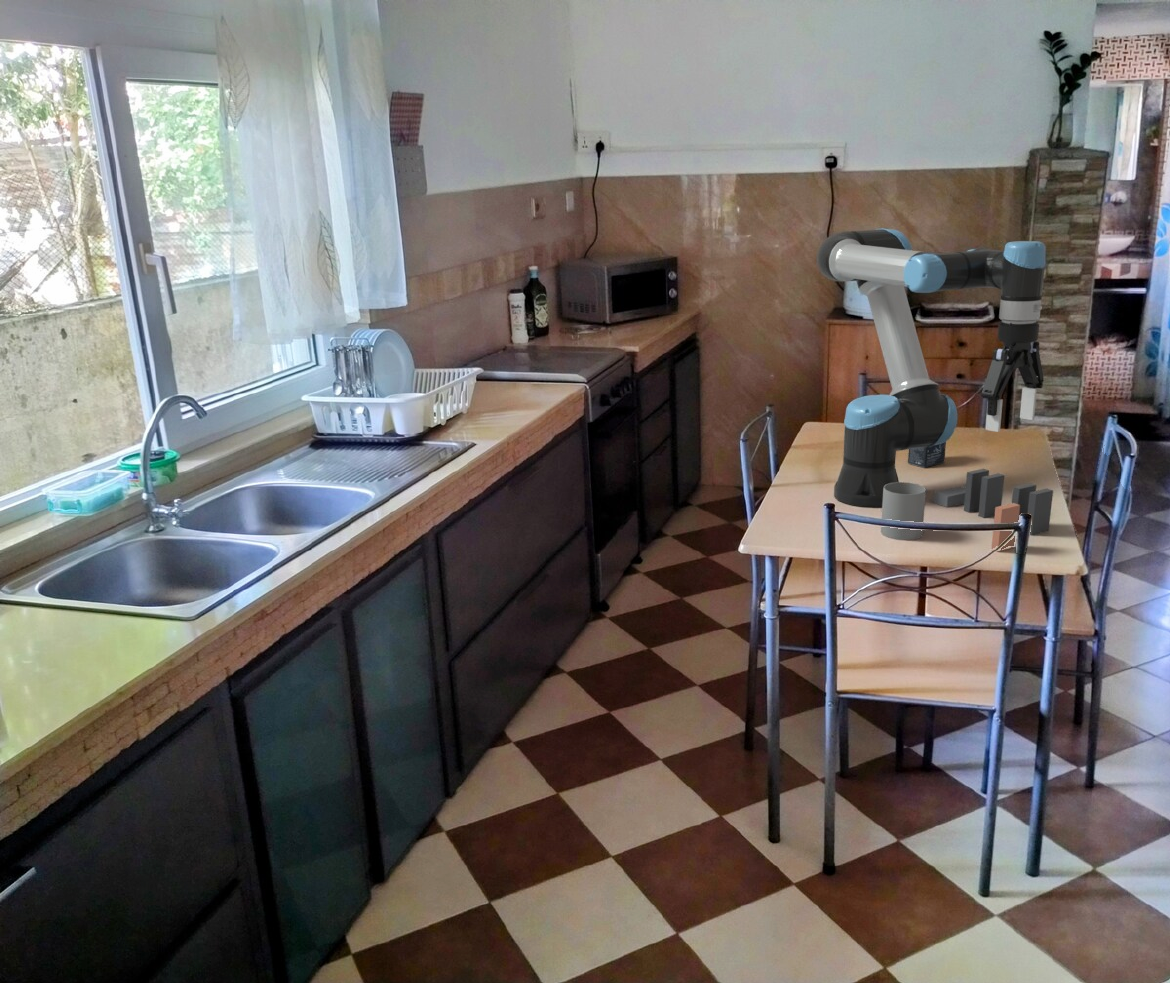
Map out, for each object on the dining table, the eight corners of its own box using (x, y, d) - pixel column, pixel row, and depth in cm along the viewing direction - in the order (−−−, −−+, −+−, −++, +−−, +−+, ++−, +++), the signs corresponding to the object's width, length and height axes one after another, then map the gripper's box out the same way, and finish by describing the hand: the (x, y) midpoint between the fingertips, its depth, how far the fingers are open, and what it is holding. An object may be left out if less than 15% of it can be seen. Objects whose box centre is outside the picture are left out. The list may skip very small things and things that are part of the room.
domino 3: (997, 552, 201) (1001, 509, 198) (991, 549, 202) (995, 507, 200) (1015, 547, 203) (1020, 505, 200) (1009, 544, 204) (1013, 502, 202)
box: (925, 468, 255) (928, 428, 252) (907, 463, 260) (909, 424, 257) (945, 463, 259) (948, 423, 256) (927, 458, 264) (930, 419, 261)
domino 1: (969, 512, 223) (972, 473, 220) (963, 510, 225) (966, 472, 222) (985, 508, 225) (989, 470, 223) (980, 506, 227) (983, 468, 224)
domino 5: (1031, 535, 209) (1036, 494, 206) (1025, 533, 210) (1029, 492, 207) (1048, 531, 211) (1053, 490, 208) (1042, 528, 212) (1046, 488, 210)
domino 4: (1015, 529, 212) (1019, 489, 210) (1009, 527, 214) (1013, 487, 211) (1032, 525, 215) (1036, 485, 212) (1025, 523, 216) (1030, 483, 213)
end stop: (946, 507, 227) (947, 496, 226) (933, 502, 230) (934, 492, 230) (972, 501, 230) (973, 490, 230) (959, 496, 234) (960, 486, 233)
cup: (905, 543, 207) (908, 497, 204) (872, 532, 214) (875, 487, 210) (930, 533, 212) (934, 488, 209) (898, 523, 218) (901, 479, 215)
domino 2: (983, 518, 220) (987, 478, 217) (978, 516, 221) (981, 476, 218) (1000, 514, 222) (1004, 475, 219) (994, 512, 223) (998, 473, 220)
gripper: (1004, 330, 191) (995, 438, 197) (1067, 315, 206) (1057, 416, 212) (968, 326, 196) (960, 432, 203) (1032, 312, 211) (1023, 411, 218)
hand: (1010, 424), depth 207 cm, fingers open, 13 cm apart
